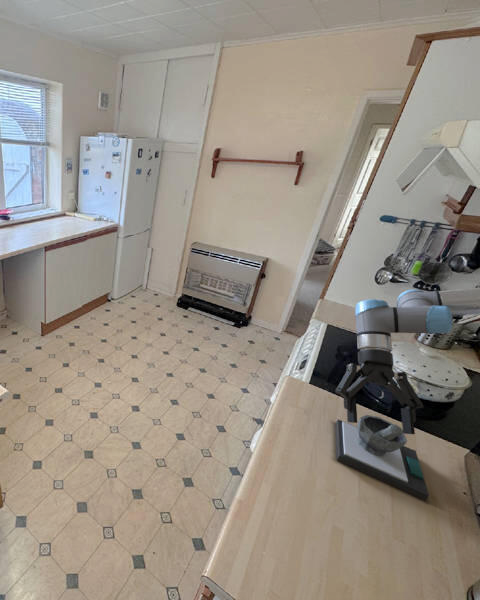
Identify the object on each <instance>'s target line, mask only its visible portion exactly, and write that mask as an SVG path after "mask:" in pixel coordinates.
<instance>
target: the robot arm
mask: <svg viewBox="0 0 480 600" xmlns="http://www.w3.org/2000/svg"><path fill="white" fill-rule="evenodd" d="M396 301H397V302H396V306H390V305H389V304H388V302H387V301H386V300H383V299H374V298H373V299H365V300H361V301H359V302H357V303H356V305H355V318H354V319H355V330H356V339H357V340H356V343H357V350H358V352H357V362H358V364H359V365H357V363H355V362H354V363H353V362H352V363H348V364H346V369H345V370H346V371H345V373H344V375H343V376H342V378H341V380H340V381H339V383H338V385H337V387H336V388H335V391H334V392H335V394H336V395H339V396H340V397H341V398H343V408H344V409H345V410H346V417H347V418H346V419H347V423H349V424H352V423H353V424H358V409H357V398H356V397H354V396H355V395H356V394H357V393H359V391H360V390H361V389H362V388H364V387H365V385H366V384H374V385H378V386H383V387H384V388H385V389H387V390H388V392H389V393H391V394H392V396H393V397H394V398H395V399H396V400H397V402H399V404H400V405H401V406H402V407H403V408H402V407H401V408H400V414H401V428H402V430H403V433H404V434H405V435H416V431H415V423H416V421H417V417H416V415H417V414H416V410H418V409H423V408H424V404H423V402H422V401H421V399H420V397H419V396H418V393H416V391H415V389H414V387H413V386H412V385H411V383H410V381H409V378H408V374H407V372H405V371H398V372H397V371H394V370H393V368H394V355H393V352H392V351H393V343H392V335H391V334H429V335H434V334H448V333H450V332H451V331H452V330H453V316H470V315H471V316H472V315H474V316H475V315H480V287H475V288H474V287H473V288H462V289H461V288H460V289H449V290H448V289H447V290H436V291H435V290H434V291H424V290H421V289H415V288H413V289H408V290H405V291H403V292H401V293H400V294H399V295H398V297H397V300H396ZM358 372H359V374H360V376H359V377H358V378H357V379H356V380H355V381H354V382H353V383H352V381H353V379H354V378H355V376H356V374H357V373H358ZM350 385H351V386H350Z"/></svg>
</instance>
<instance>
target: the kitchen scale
mask: <svg viewBox="0 0 480 600" xmlns="http://www.w3.org/2000/svg"><path fill="white" fill-rule="evenodd" d="M334 426H335V451H336V452H335V453H336V461H337V462H340V463H341V464H344V465H345V466H348V467H350V468H353V469H355V470H357V471H359V472H361V473H363V474H366V475H368V476H370V477H372V478H374V479H377V480H379V481H381V482H383V483H385V484H386V485H387V484H388V485H390V486H392V487H394V488H396V489H398V490H400V491H402V492H405V493H407V494H409V495H412V496H414V497H416V498H418V499H420V500H422V501H424V502H425V501H426V500H427V499H428V498H429V497H430V493H429V490H428V487H427V483H426V480H425V477H424V473H423V470H422V467H421V464H420V461H419V458H418V453H417V450H415V449H412V448H410V447H407V446H405V445H404V446H402V447H401V448H400V449H398V450H396V451H393V452H386V454H385V455H383V456H377V455H373V454H371V453H369V452H368V451H366V450H364V449H363V448H362V447H361V446H360V445H359V444H358V440H357V439H358V437H359V433H358V428H357V425H356V426H355V425H354V424H352V423H349V422H347V421H343V420H342V419H337V420H336V422H335V424H334Z"/></svg>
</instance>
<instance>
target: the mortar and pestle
mask: <svg viewBox="0 0 480 600" xmlns="http://www.w3.org/2000/svg"><path fill="white" fill-rule="evenodd" d="M356 427H357V428H358V433H359V437H358V439H357V440H358V444H359V445H360V446H361V447H362V448H363V449H364V450H366V451H368V452H369V453H371V454H373V455H377V456H383V455H385V454H386V452H393V451H396V450H398V449H400V448H401V447H402V446H405V445H406V444H407V442H408V439H407V437H406V434H405V433H403V428H402V426H399V425H397V424H394V423H392V422H390V421H388V420H386V419H384V418H382V417H380V416H375V415H372V414H371V415H370V414H365V415H363V416H361V417H360V418H359V419H358V420H357V423H356Z"/></svg>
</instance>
